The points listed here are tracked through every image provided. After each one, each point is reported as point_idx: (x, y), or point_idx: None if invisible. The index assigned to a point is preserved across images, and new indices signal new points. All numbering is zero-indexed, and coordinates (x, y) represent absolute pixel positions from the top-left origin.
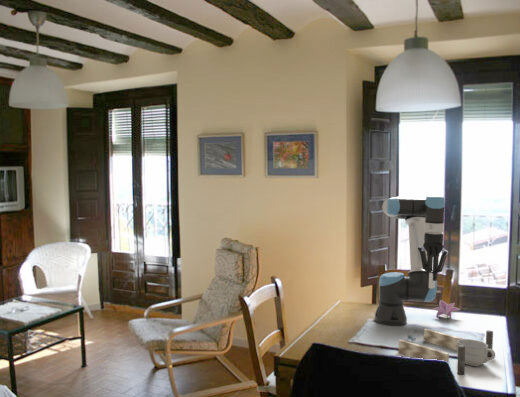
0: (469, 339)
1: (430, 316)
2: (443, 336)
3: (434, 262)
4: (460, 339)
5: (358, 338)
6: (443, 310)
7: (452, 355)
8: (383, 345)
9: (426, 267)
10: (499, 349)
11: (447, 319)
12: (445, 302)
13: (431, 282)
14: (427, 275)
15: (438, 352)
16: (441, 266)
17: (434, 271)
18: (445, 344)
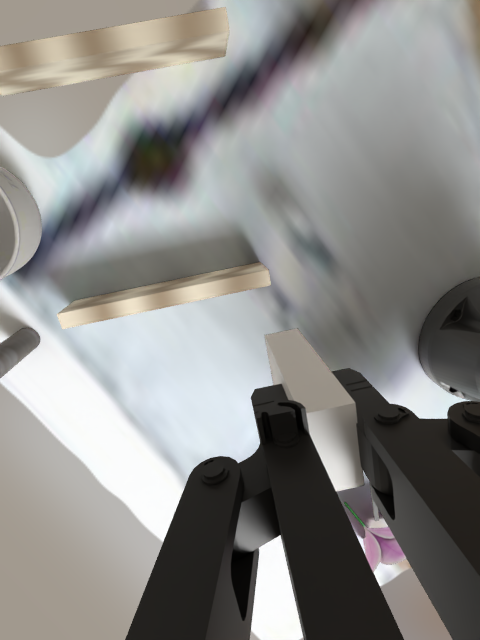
0: (5, 269)
1: None
2: (177, 286)
3: (347, 626)
4: (14, 224)
5: (441, 25)
6: (382, 532)
7: (92, 226)
8: (318, 56)
9: (474, 471)
10: (65, 425)
11: (349, 507)
12: (391, 563)
13: (283, 356)
14: (372, 391)
15: (6, 46)
16: (155, 599)
17: (280, 449)
18: (170, 282)
